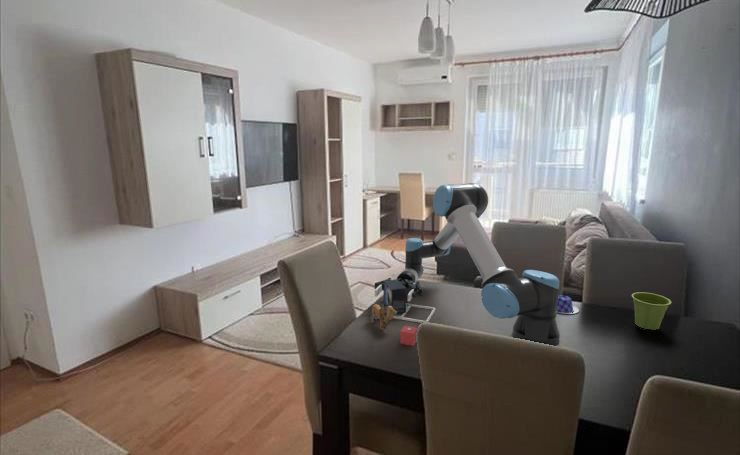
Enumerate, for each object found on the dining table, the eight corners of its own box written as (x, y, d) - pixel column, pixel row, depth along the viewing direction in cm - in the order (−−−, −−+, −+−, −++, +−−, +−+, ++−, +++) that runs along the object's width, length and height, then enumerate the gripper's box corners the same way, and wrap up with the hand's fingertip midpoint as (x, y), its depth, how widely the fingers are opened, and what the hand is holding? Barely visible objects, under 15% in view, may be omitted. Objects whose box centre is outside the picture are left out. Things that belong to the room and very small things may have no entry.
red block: (416, 340, 139) (417, 326, 138) (413, 346, 135) (413, 331, 134) (404, 337, 141) (404, 324, 140) (400, 343, 137) (400, 329, 136)
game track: (435, 309, 165) (435, 307, 164) (427, 323, 152) (427, 321, 152) (387, 302, 172) (387, 300, 172) (375, 315, 159) (375, 313, 159)
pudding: (582, 316, 159) (584, 304, 158) (550, 314, 161) (551, 302, 160) (573, 304, 170) (574, 292, 169) (542, 302, 172) (544, 291, 171)
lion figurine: (398, 329, 147) (399, 306, 145) (387, 333, 144) (387, 309, 142) (373, 315, 159) (373, 294, 157) (362, 319, 156) (362, 297, 154)
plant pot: (620, 324, 152) (624, 295, 149) (639, 317, 157) (643, 290, 155) (654, 337, 141) (659, 307, 139) (673, 330, 147) (678, 300, 144)
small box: (382, 304, 168) (382, 280, 165) (397, 302, 169) (397, 278, 167) (390, 314, 158) (391, 289, 156) (406, 312, 159) (407, 287, 157)
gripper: (435, 290, 175) (422, 309, 155) (380, 283, 184) (362, 300, 164) (435, 274, 173) (423, 290, 154) (380, 267, 182) (362, 282, 163)
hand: (391, 295), depth 159 cm, fingers open, 13 cm apart
